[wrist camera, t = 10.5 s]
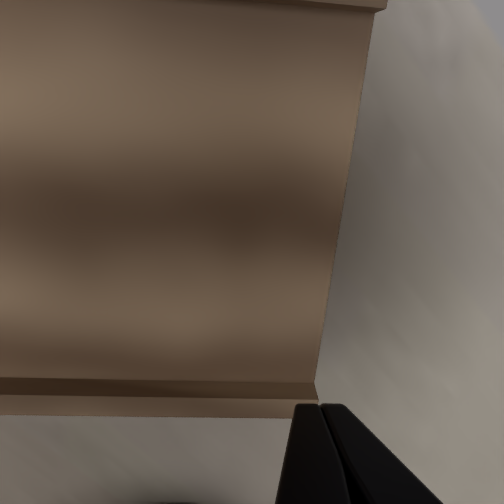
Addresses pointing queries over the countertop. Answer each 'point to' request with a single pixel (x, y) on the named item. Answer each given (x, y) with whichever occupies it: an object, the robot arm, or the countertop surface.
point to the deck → (172, 201)
